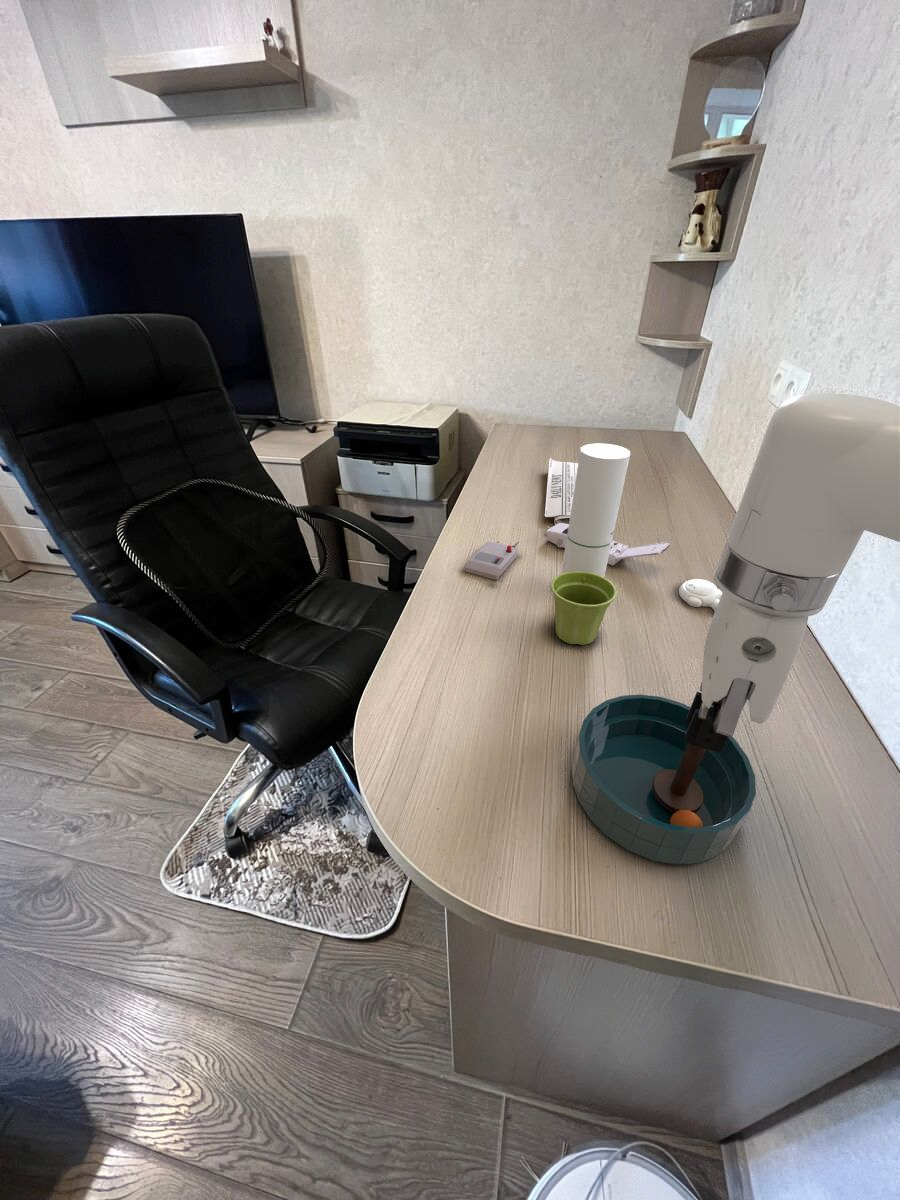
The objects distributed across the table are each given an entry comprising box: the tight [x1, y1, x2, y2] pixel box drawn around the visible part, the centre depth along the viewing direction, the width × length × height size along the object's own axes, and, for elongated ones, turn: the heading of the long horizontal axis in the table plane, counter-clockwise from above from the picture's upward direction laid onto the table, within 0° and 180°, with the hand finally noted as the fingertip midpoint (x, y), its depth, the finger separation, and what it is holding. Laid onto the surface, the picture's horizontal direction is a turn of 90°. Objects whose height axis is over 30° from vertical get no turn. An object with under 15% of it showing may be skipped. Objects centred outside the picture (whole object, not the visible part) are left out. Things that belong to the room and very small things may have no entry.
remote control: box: [464, 540, 520, 582], centre depth 96 cm, size 7×16×3 cm, turn 152°
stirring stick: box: [652, 703, 722, 813], centre depth 49 cm, size 5×5×15 cm
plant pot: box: [550, 571, 618, 646], centre depth 76 cm, size 9×9×9 cm
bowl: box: [571, 693, 757, 865], centre depth 54 cm, size 17×17×6 cm
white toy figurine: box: [678, 578, 722, 612], centre depth 85 cm, size 9×12×3 cm
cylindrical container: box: [560, 442, 631, 578], centre depth 81 cm, size 7×7×25 cm
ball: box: [670, 810, 703, 828], centre depth 50 cm, size 3×3×3 cm
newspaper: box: [544, 457, 579, 525], centre depth 122 cm, size 35×12×4 cm, turn 172°
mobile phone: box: [545, 523, 671, 566], centre depth 97 cm, size 6×6×25 cm
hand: (702, 735), depth 48 cm, fingers closed on stirring stick
